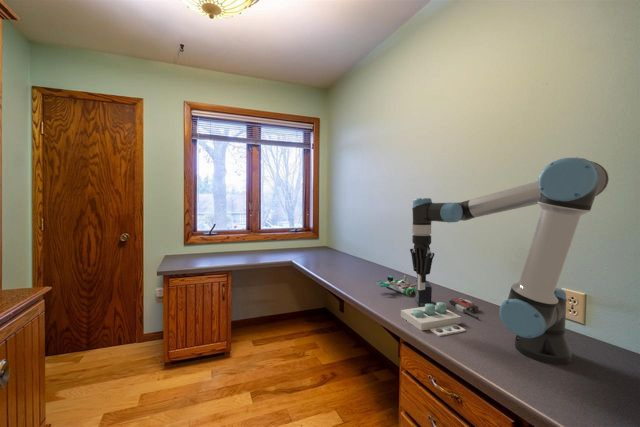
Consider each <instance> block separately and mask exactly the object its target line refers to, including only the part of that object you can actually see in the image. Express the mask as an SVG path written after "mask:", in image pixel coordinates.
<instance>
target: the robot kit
mask: <svg viewBox="0 0 640 427" xmlns="http://www.w3.org/2000/svg"><path fill="white" fill-rule="evenodd" d="M378 285H379V287H380V288H388V289H392V290H395V291H397V292H400V293H401V294H404V295H406V296H407V297H411V296H412V294H413V293H414V294H415V295H416V283H412V282H410V281H409V277H408V276H407V275H404V276H403V279H401V280H400V279H398V278H396V279H394V276H392V275H387V281H381V280H380V281H377V282H375V286H378Z"/></svg>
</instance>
